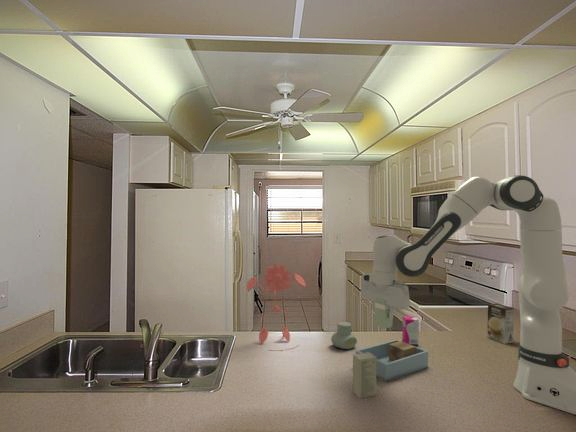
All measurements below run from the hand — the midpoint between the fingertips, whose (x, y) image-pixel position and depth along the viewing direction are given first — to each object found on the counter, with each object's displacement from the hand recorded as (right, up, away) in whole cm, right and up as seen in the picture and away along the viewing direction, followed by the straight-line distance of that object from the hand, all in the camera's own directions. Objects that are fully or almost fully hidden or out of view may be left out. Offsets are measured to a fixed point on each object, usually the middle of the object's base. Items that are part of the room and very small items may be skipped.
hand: (383, 315), depth 127 cm
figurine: (-41, -19, +22) cm, 50 cm away
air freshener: (-11, -20, +22) cm, 31 cm away
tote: (+4, -20, +3) cm, 20 cm away
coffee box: (+64, -22, +35) cm, 76 cm away
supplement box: (+20, -21, +28) cm, 40 cm away
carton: (0, -4, 0) cm, 4 cm away
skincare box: (-11, -20, -18) cm, 29 cm away
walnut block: (+9, -19, +6) cm, 22 cm away
